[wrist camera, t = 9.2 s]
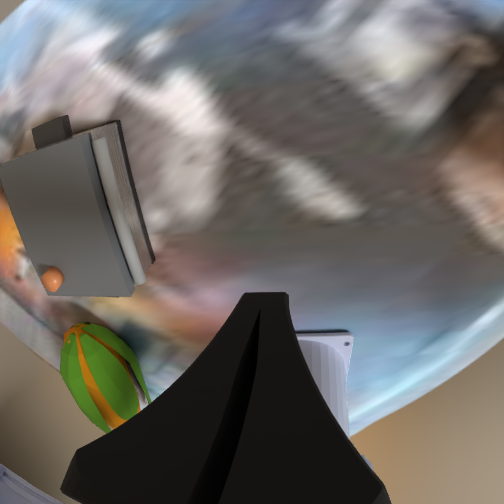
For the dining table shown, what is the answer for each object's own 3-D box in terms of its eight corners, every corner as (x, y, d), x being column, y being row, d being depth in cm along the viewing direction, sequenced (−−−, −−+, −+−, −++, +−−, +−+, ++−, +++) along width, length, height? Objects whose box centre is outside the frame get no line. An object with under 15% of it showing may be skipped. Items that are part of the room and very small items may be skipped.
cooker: (160, 275, 22) (143, 302, 20) (84, 274, 24) (65, 298, 21) (116, 99, 16) (86, 107, 13) (36, 128, 17) (6, 140, 14)
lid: (150, 283, 19) (137, 307, 17) (56, 284, 20) (41, 303, 18) (106, 127, 14) (82, 136, 12) (9, 160, 15) (-14, 172, 13)
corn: (91, 379, 19) (153, 468, 29) (134, 312, 25) (172, 420, 36) (27, 350, 20) (102, 448, 30) (72, 296, 26) (124, 405, 37)
